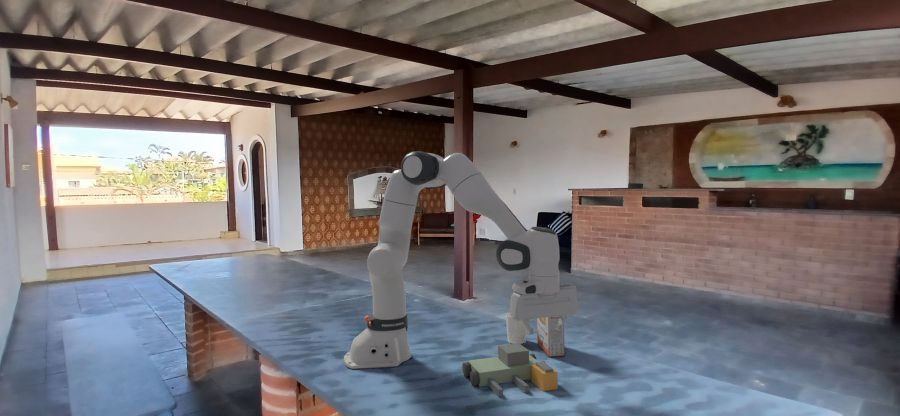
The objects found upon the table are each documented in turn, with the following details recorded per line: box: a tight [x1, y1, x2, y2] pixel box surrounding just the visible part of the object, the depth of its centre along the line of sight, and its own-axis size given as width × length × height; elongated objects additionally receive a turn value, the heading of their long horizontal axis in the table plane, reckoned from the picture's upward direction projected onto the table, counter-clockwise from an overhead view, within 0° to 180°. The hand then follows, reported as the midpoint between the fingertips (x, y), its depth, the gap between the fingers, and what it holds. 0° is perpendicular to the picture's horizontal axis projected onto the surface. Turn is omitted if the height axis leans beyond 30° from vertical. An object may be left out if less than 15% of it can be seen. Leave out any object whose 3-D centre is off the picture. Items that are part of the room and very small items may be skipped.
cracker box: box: [536, 316, 566, 358], centre depth 161 cm, size 14×6×21 cm, turn 5°
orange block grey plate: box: [531, 360, 559, 392], centre depth 133 cm, size 4×7×6 cm, turn 17°
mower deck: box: [461, 343, 545, 398], centre depth 136 cm, size 23×18×8 cm
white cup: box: [505, 312, 528, 345], centre depth 171 cm, size 8×8×10 cm
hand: (544, 332), depth 132 cm, fingers open, 8 cm apart
